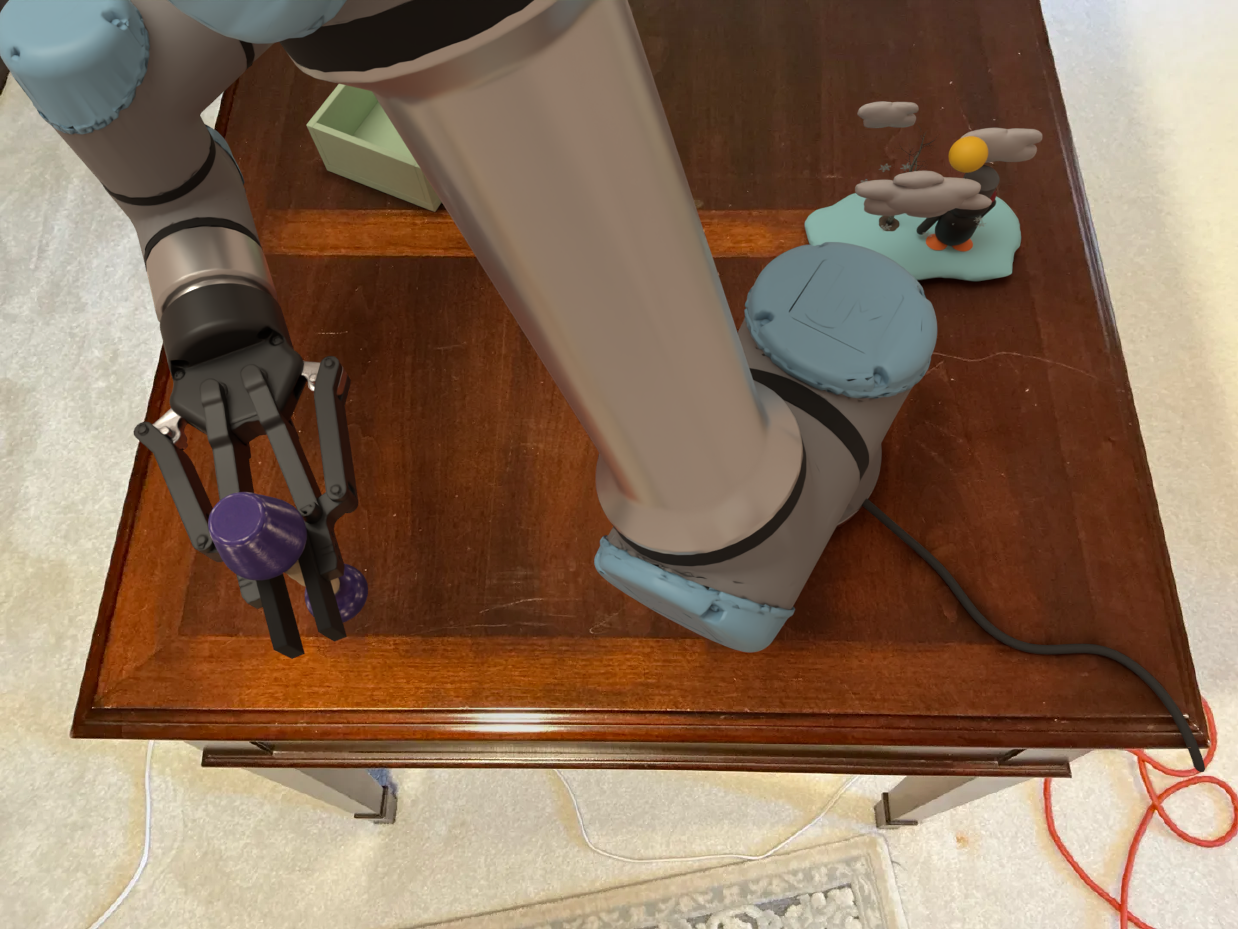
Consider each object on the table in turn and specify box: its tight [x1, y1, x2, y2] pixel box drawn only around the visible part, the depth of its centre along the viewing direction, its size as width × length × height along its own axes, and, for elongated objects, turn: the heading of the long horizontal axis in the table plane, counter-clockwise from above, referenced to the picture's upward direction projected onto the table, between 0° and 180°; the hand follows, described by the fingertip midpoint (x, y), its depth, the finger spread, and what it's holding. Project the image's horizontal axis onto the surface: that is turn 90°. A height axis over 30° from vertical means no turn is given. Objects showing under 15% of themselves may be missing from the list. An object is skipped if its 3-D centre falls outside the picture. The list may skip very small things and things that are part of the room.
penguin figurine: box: [804, 100, 1043, 282], centre depth 73 cm, size 20×11×15 cm, turn 90°
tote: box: [306, 83, 442, 213], centre depth 83 cm, size 12×12×6 cm
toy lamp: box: [208, 492, 369, 624], centre depth 51 cm, size 5×5×17 cm
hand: (311, 642), depth 48 cm, fingers closed on toy lamp, 2 cm apart
